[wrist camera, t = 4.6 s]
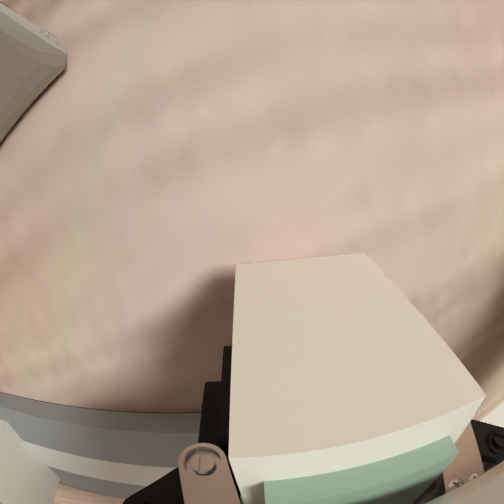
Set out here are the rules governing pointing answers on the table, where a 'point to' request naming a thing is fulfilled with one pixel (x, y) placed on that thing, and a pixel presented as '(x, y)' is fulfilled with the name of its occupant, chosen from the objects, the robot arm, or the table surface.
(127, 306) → the table surface
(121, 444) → the rail board
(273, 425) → the block
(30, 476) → the mounted modules
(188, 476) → the robot arm
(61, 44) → the electrical switch
